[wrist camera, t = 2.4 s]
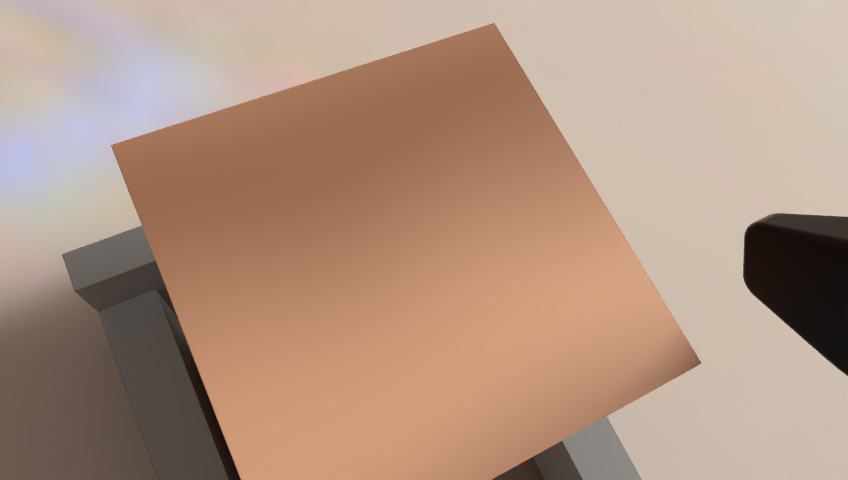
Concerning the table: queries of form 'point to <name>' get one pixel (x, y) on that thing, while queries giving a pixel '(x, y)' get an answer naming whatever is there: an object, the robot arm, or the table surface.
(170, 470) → the charcoal u-shaped frame
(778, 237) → the robot arm
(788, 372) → the table surface
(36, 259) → the table surface
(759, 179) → the table surface
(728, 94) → the table surface
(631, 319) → the terracotta block
